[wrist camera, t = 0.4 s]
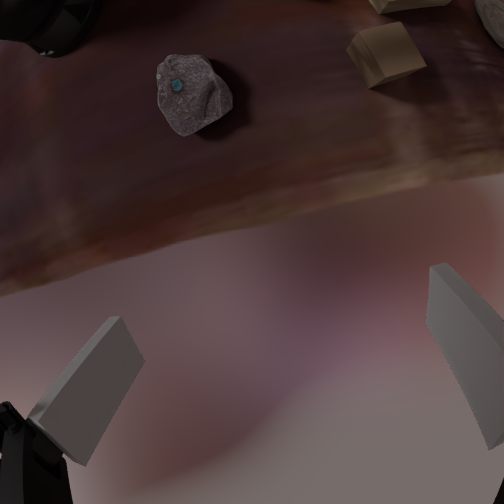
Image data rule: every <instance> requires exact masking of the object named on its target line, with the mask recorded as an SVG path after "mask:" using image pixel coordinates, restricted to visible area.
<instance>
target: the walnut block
mask: <svg viewBox="0 0 504 504" xmlns="http://www.w3.org/2000/svg"><path fill="white" fill-rule="evenodd" d="M346 51H347V52H348V54H349V56H350V57H351V59H352V61H353V62H354V64H355V66H356V67H357V69H358V71H359V73H360V74H361V76H362V78H363V80H364V82H365V83H366V85H367V87H368V89H369V88H372V87H375V86H378V85H381V84H384V83H387V82H390V81H394V80H397V79H400V78H403V77H406V76H408V75H410V74H412V73H414V72H415V71H417V70H420V69H422V68H424V67H426V66H427V65H426V64H425V62H424V60H423V58H422V56H421V54H420V53H419V51H418V49H417V47H416V46H415V44H414V42H413V41H412V39H411V37H410V36H409V34H408V32H407V31H406V29H405V28H404V26H403V25H402V23H401V22H395V23H390V24H386V25H381V26H377V27H372V28H368V29H364V30H361V31H358V32H357V34H356V35H355V37H354V38H353V40H352V41H351V43H350V45H349V46H348V48H347V49H346Z"/></svg>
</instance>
